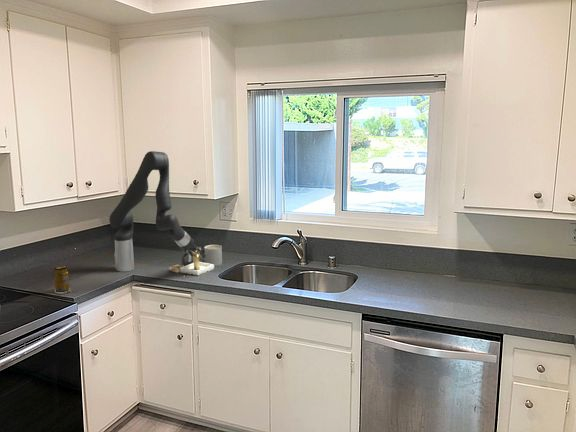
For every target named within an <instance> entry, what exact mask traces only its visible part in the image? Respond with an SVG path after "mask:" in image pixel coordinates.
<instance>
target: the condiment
mask: <svg viewBox="0 0 576 432" xmlns="http://www.w3.org/2000/svg"><path fill="white" fill-rule="evenodd" d="M53 277H54V287H55V289H54V290H56V292H65V291H68V290H69V289H70V280H69V279H70V278H69V272H68V266H66V265H58V266H55V267H54V273H53ZM68 292H69V291H68Z"/></svg>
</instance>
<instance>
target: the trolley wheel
mask: <svg viewBox="0 0 576 432" xmlns="http://www.w3.org/2000/svg"><path fill="white" fill-rule="evenodd" d="M181 251H182V253H183V256H182V257H181V264H182V266H187V265H189V264H192V263H194V262H193V257H192V256H191V255H190V254H189V253H187V252H184V251H183V250H182V249H181Z"/></svg>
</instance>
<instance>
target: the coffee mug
mask: <svg viewBox="0 0 576 432" xmlns="http://www.w3.org/2000/svg"><path fill="white" fill-rule="evenodd" d="M222 247H223V246H222V245H220V244H209V245H205V246H204V247H203V249H204V250H205V253H204V254H205V255H206V256H205V258H204V259H203V258H202V257H201V256H200V255H199V260H201V261H202V262H203V263H209V264H214V267H217V266H218V267H220V266H221V265H222V264H223V248H222Z"/></svg>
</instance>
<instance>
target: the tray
mask: <svg viewBox="0 0 576 432" xmlns="http://www.w3.org/2000/svg"><path fill="white" fill-rule="evenodd" d="M199 263H200V269H199V270H194V262H193V263H192V264H189V265H187V266H184V267H181V268H180V272H179V273H181V274H186V273H187V274H188V275H191V274H193V276H196V275H198V276H200V274H201V275H203V274H205V273H208V272H210V271H212V270H214V269H215V266H214V264H209V263H205V262H204V261H199ZM207 271H208V272H207ZM202 273H203V274H202Z"/></svg>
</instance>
